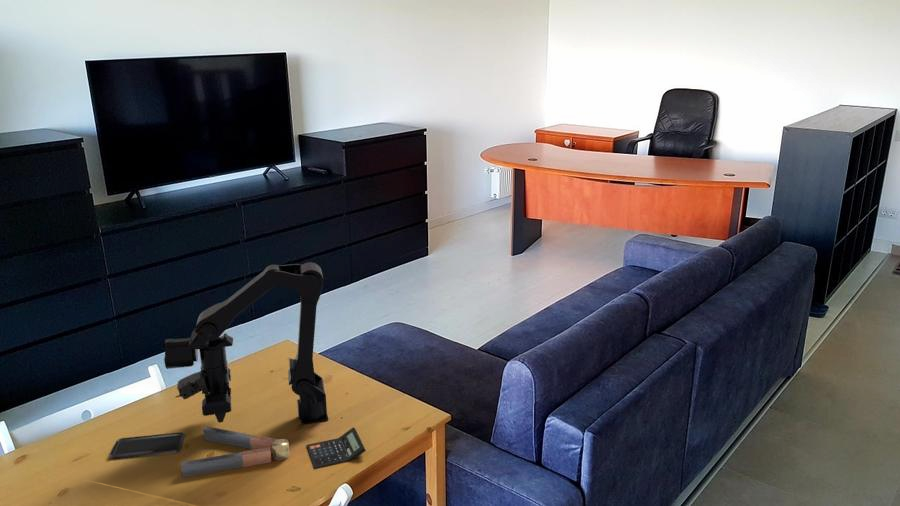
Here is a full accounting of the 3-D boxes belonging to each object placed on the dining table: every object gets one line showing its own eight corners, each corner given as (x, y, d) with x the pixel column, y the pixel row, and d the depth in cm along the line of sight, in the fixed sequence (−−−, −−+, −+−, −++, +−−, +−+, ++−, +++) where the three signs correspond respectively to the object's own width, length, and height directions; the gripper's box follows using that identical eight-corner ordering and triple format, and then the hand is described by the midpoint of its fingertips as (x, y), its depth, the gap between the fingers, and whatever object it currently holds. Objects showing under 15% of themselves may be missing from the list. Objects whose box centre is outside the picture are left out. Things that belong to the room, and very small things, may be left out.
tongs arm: (292, 452, 152) (291, 440, 151) (284, 461, 149) (283, 449, 148) (208, 436, 158) (207, 424, 157) (199, 444, 155) (197, 432, 154)
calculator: (306, 448, 155) (306, 436, 154) (356, 437, 159) (355, 426, 158) (314, 470, 146) (313, 459, 146) (366, 459, 151) (365, 447, 150)
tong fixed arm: (271, 458, 150) (270, 447, 149) (271, 462, 149) (270, 451, 148) (182, 473, 145) (181, 461, 144) (182, 478, 143) (180, 466, 142)
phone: (117, 438, 156) (185, 431, 159) (118, 442, 157) (185, 435, 159) (107, 458, 149) (178, 450, 152) (108, 462, 149) (179, 454, 152)
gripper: (179, 351, 163) (187, 407, 168) (174, 386, 146) (182, 448, 151) (227, 345, 166) (233, 401, 171) (227, 379, 149) (234, 440, 154)
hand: (220, 421), depth 161 cm, fingers closed
